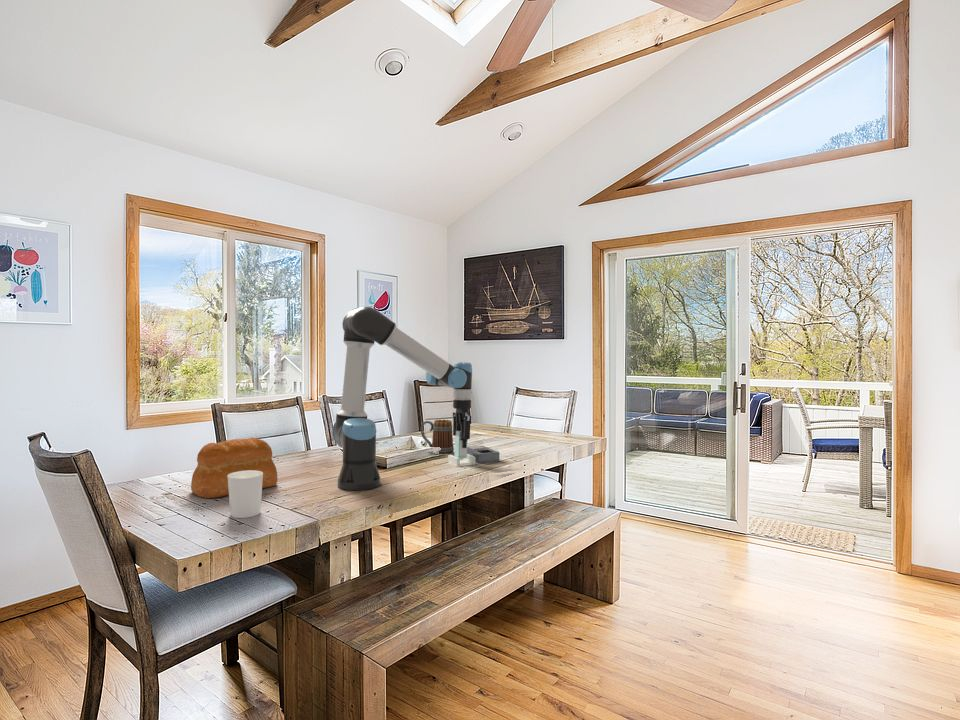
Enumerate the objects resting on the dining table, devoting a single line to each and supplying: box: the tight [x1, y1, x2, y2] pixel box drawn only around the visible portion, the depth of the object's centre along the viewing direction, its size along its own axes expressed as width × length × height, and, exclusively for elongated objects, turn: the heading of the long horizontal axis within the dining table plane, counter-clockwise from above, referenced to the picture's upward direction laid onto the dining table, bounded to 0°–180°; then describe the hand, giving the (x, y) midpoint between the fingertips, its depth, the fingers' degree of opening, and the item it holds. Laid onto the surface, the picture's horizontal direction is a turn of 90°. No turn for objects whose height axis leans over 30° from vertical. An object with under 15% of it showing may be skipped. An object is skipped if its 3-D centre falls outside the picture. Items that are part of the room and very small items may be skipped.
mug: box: [420, 419, 455, 456], centre depth 255 cm, size 16×11×15 cm
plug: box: [453, 431, 467, 460], centre depth 229 cm, size 4×4×11 cm
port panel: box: [467, 445, 500, 465], centre depth 238 cm, size 10×16×5 cm, turn 27°
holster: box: [447, 454, 476, 467], centre depth 229 cm, size 9×9×4 cm
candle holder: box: [227, 470, 263, 519], centre depth 162 cm, size 10×10×12 cm
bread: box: [190, 437, 278, 499], centre depth 189 cm, size 16×26×17 cm, turn 139°
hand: (460, 454), depth 229 cm, fingers closed on plug, 4 cm apart
